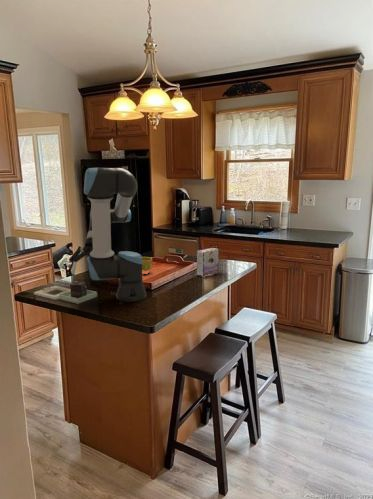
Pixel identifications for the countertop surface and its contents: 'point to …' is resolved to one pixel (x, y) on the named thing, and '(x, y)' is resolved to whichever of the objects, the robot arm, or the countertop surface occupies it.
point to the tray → (68, 298)
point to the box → (78, 289)
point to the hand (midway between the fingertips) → (85, 274)
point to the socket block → (49, 289)
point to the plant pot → (146, 263)
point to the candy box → (207, 261)
